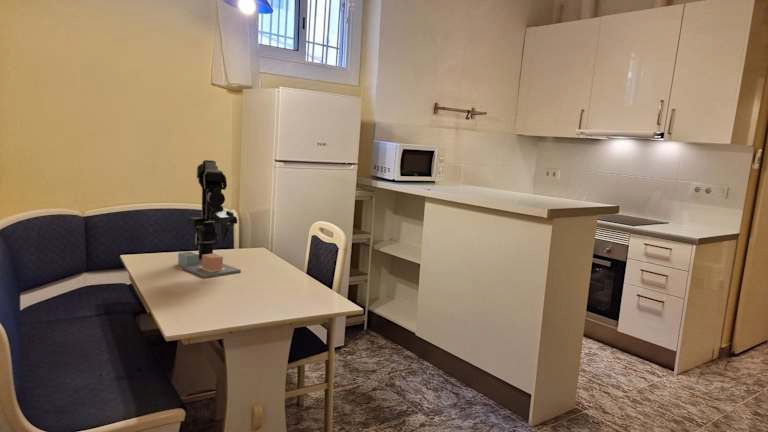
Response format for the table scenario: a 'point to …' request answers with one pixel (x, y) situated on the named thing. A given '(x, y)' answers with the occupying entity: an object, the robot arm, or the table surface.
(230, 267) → the baseplate
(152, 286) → the table surface
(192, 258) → the brick
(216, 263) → the brick
